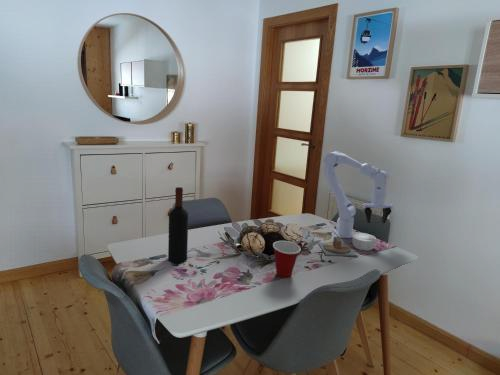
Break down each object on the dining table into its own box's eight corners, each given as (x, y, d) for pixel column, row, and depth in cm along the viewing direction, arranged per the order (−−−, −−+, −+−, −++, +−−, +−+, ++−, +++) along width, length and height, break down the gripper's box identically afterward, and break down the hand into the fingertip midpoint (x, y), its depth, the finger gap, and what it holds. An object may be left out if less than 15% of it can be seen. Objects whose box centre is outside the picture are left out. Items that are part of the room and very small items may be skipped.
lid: (320, 243, 180) (321, 233, 179) (344, 243, 182) (345, 234, 180) (327, 253, 169) (328, 243, 168) (353, 253, 170) (354, 244, 169)
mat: (317, 243, 181) (317, 242, 181) (345, 244, 182) (346, 243, 182) (326, 255, 167) (326, 254, 167) (356, 256, 169) (356, 255, 169)
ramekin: (364, 253, 173) (366, 242, 172) (345, 245, 182) (347, 234, 180) (379, 249, 179) (381, 238, 178) (360, 241, 188) (362, 231, 187)
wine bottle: (164, 260, 152) (165, 188, 145) (176, 254, 159) (177, 184, 152) (179, 265, 149) (180, 191, 142) (190, 258, 155) (192, 187, 148)
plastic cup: (288, 284, 139) (291, 253, 136) (264, 274, 146) (267, 245, 143) (303, 274, 148) (306, 245, 145) (280, 265, 154) (282, 238, 151)
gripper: (367, 197, 177) (364, 224, 180) (397, 197, 178) (393, 225, 181) (362, 193, 184) (359, 220, 187) (390, 194, 185) (387, 220, 188)
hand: (375, 222), depth 185 cm, fingers open, 7 cm apart
